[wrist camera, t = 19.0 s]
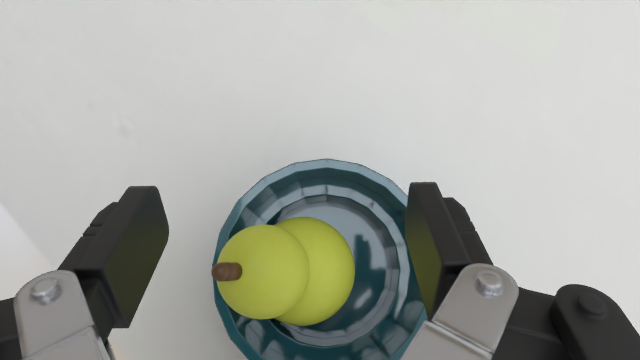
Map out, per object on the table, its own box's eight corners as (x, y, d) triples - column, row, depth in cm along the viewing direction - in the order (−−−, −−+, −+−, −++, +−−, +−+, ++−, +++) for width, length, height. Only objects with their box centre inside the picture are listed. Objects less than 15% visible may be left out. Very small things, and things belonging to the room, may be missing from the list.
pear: (304, 334, 23) (181, 374, 14) (272, 247, 25) (147, 239, 16) (386, 294, 21) (300, 313, 13) (344, 205, 23) (247, 172, 15)
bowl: (281, 397, 22) (269, 435, 17) (208, 226, 24) (178, 217, 19) (447, 310, 23) (481, 323, 18) (363, 151, 25) (373, 124, 20)
